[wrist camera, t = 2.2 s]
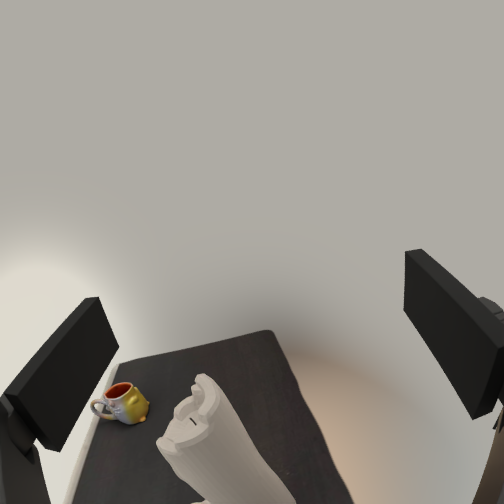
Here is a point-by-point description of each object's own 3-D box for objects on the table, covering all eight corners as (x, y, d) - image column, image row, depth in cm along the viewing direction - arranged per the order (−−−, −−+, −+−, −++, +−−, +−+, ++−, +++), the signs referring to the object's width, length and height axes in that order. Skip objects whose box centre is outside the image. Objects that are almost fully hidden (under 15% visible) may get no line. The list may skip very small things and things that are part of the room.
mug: (154, 400, 56) (136, 374, 54) (147, 423, 49) (127, 397, 47) (107, 411, 56) (90, 387, 55) (98, 432, 50) (78, 408, 48)
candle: (190, 494, 32) (95, 384, 27) (297, 484, 29) (222, 358, 24) (179, 538, 25) (60, 433, 20) (297, 535, 22) (204, 425, 17)
